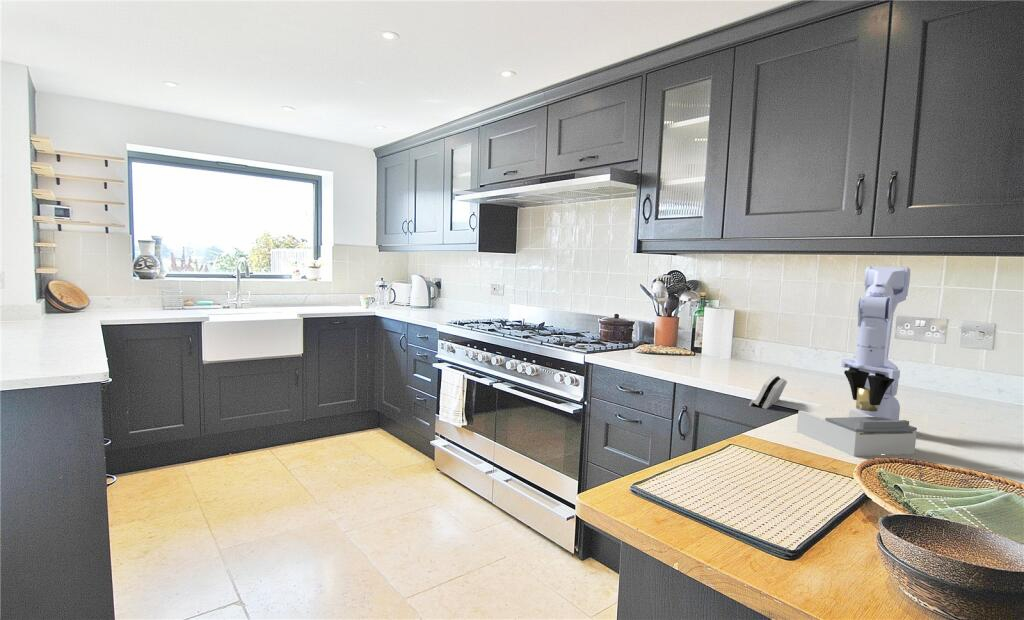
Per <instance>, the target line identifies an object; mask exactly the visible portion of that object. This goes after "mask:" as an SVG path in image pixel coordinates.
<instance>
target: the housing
mask: <svg viewBox="0 0 1024 620" xmlns="http://www.w3.org/2000/svg"><path fill="white" fill-rule="evenodd" d="M848 417H873V416H870V415H867V414H864V413H861V412H858V411H856V409H855V410H854V409H849V411H848ZM796 424H797V425H796V432H797V433H799V434H801V435H804V436H807V437H808V438H811V439H813V440H815V441H818V442H820V443H822V444H825V445H827V446H829V447H831V448H834V449H836V450H838V451H841V452H842V453H846V454H848V455H850V456H851V457H852V456H853V457H872V455H878V456H882V455H881V454H893V455H892V456H899V455H900V456H902V455H901V454H907V455H915V450H916V442H917V430H914V431H874V433H860V432H855V431H852V430H850V429H847V428H844V427H842V426H839V425H836V424H834V423H831V422H828V421H826V420H825V418H823V417H820V416H817V415H815V414H812V413H810V412H807V411H805V410H798V413H797V423H796Z"/></svg>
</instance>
